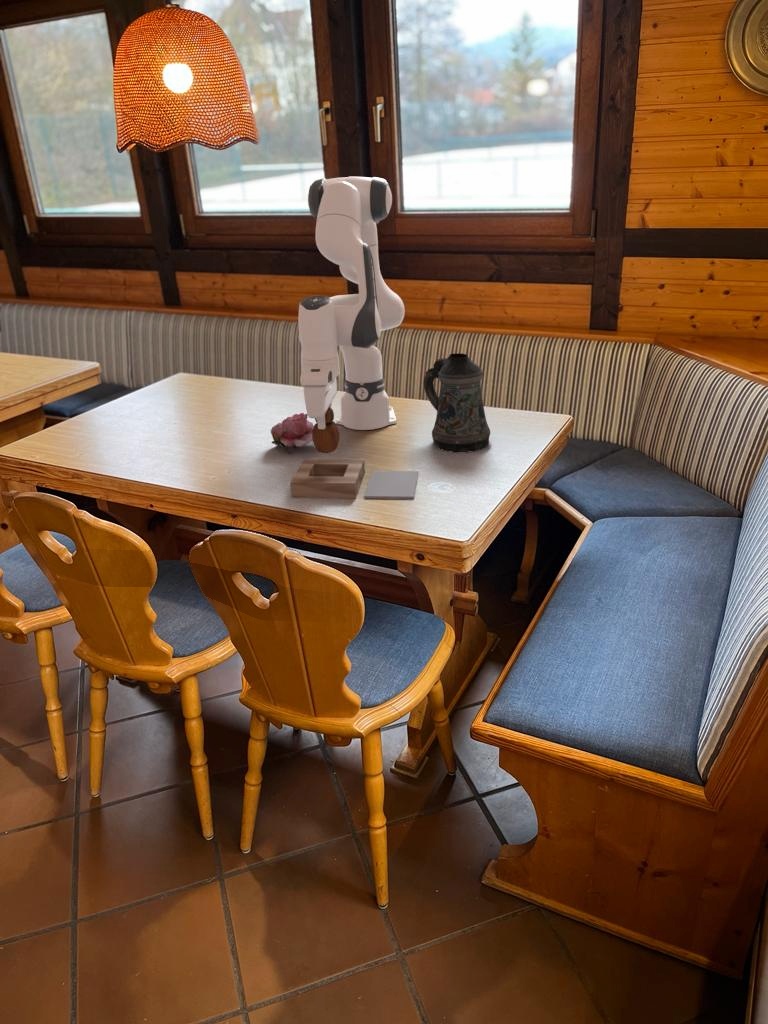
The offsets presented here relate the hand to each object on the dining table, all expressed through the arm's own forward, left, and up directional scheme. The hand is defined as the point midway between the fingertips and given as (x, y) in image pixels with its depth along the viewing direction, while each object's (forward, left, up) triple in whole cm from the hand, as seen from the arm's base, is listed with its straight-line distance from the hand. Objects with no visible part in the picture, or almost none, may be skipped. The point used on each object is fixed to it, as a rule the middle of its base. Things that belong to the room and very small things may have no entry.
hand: (324, 423), depth 184 cm
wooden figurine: (0, 0, -7) cm, 7 cm away
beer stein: (-31, +31, -16) cm, 47 cm away
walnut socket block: (0, 0, -16) cm, 16 cm away
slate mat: (0, +16, -16) cm, 23 cm away
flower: (-26, -14, -16) cm, 34 cm away
